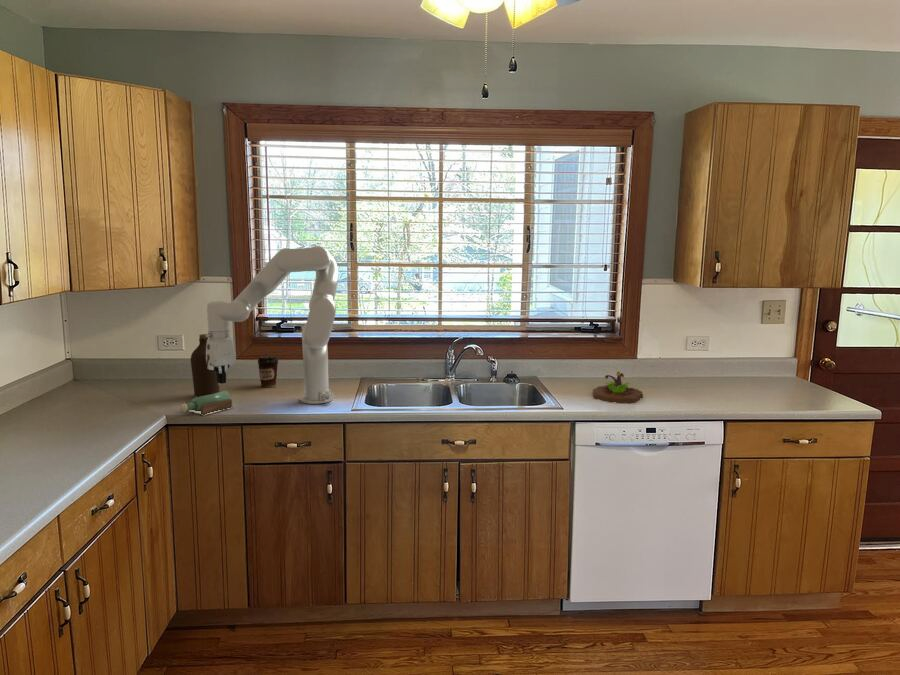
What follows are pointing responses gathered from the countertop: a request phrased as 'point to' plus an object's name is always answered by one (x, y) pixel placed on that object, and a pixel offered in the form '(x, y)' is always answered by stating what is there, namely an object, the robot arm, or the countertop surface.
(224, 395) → the bottle
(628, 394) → the plant
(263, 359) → the coffee cup
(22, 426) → the countertop surface
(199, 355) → the olive oil
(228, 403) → the cradle
